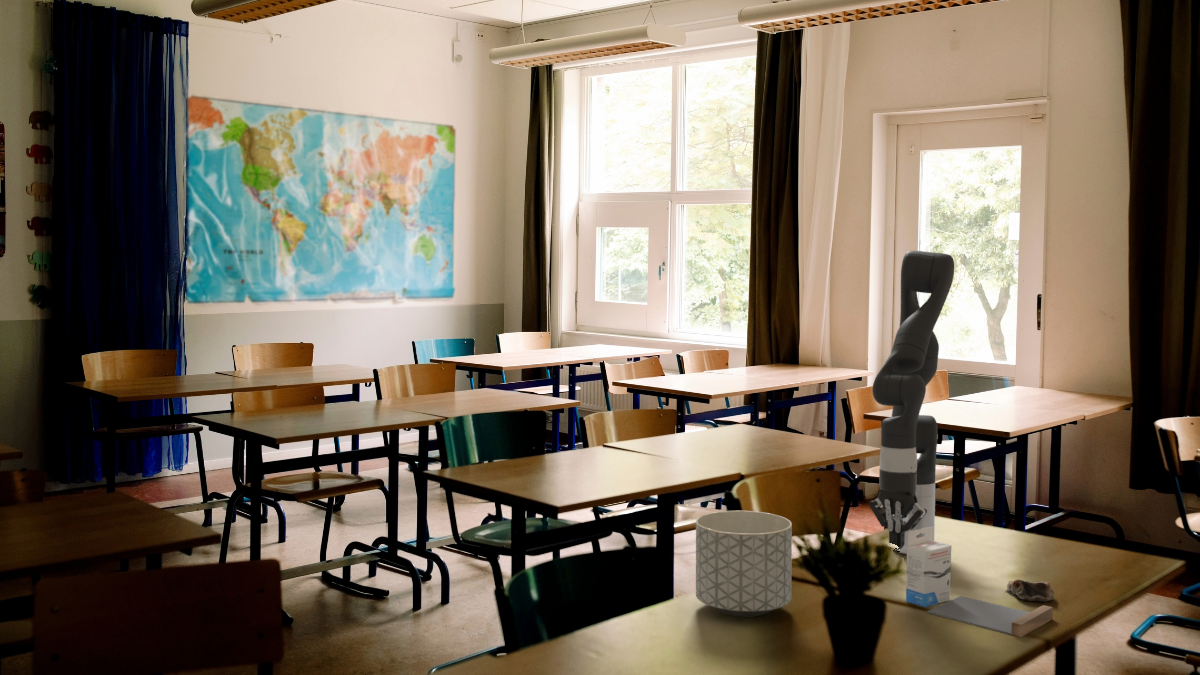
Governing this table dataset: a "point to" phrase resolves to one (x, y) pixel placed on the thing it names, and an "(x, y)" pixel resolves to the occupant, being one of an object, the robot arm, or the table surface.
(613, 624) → the table surface
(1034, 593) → the rock
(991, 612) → the mat
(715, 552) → the planter
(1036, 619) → the stop rail
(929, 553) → the ink box
